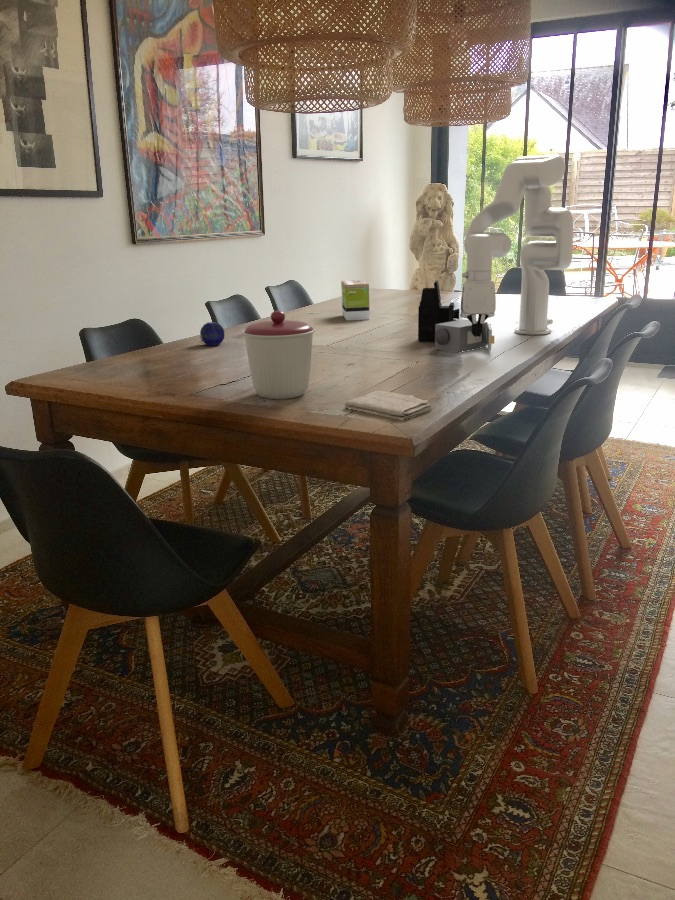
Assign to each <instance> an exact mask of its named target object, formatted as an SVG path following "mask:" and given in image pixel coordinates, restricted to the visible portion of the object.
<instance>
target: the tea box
mask: <svg viewBox="0 0 675 900" xmlns="http://www.w3.org/2000/svg"><path fill="white" fill-rule="evenodd" d="M340 283H341V306H342V307H341V310H342V311H341V313H342V316H343V317H344V319H345V320H346V321H364V320H365V321H366V320H370V316H371V315H370V314H371V313H370V285H369V283H368V282H367V281H365V280H364V279H357V280H356V279H353V280H341V282H340Z"/></svg>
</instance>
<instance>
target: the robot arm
mask: <svg viewBox="0 0 675 900" xmlns="http://www.w3.org/2000/svg"><path fill="white" fill-rule="evenodd" d="M565 172H566V162H565V159H564V158H563V157H562V156H561V155H560V154H545V155H543V154H542V155H526V156H520V157H517V158H515V159H514V160H513V161H512V162H510V163H508V164H507V165H506V167H505V169H504V170H503V173H502V176H501V178H500V181H499V184H498V186H497V190H496V193H495V195H494V198H493V200H492V201H491V202H490V203H489V204H488V205H486V206H485V207H484V208H483V209H482V210H481V211H480V212H478V213H477V214H476V215H475V217H474V218H472V221H470V223H469V224H470V225H469V228H468V230H467V232H466V234H465V235H466V236H465V239H464V243H463V244H464V247H463V248H464V251H465V254H466V270H465V271H464V272H462V273H461V278H464V279H466V280H464V281H463V285H462V290H461V295H460V296H461V297H460V313H459V318H462V319H465V320H469V321H470V322H471V323H472V331H471V332H472V334H473V336H475V337H477V336H478V337H480V336H481V333H482V324H483V323H484V322H486V320H487V319H490V318H492V317H495V312H496V308H497V307H496V306H497V303H496V302H497V300H496V299H497V297H496V286H495V280H492V273H493V272H492V267H493V259H495V258H497V259H498V258H504V257H505V256H507V255H508V254H509V253H510V251H511V248H512V241H511V238H510V236H509V235H508V234H506V233H504V232H492V231H491V232H487V231H486V230H488V228H490V227H491V226H492V225H495V224H496V223H499V222H502V221H504V220H505V219H508V218H510V217H513V216H514V215H515V214H517V213H518V212H519V210H520V206H521V204H522V202H523V199H524V229H525V233H526V234H527V236H529V237H532V238H533V237H534V238H553V239H555V240H554V241H553V240H531V241H528V242H526V243H524V244H523V245H522V246H521V248H520V251H519V252H520V253H519V258H520V268H521V284H520V285H521V289H520V306H519V321H518V322H519V323H518V325H519V326H518V327H515V328H514V333H516V334H519V335H532V336H538V335H539V336H540V335H541V336H542V335H547V334H550V333H551V332H552V329H551V328H549V327H548V325H553V323H554V320H553V319H552V318H549V319H548V309H549V308H548V307H549V295H550V280H549V277H548V275H547V273H546V272H545V270H546V271H547V270H549V271H551V270H552V271H553V270H554V271H564V270H566V269H568V268H569V267H570V266H571V263H572V260H573V245H574V217H573V214H572V212H571V211H570V209H568V208H565V207H552V192H551V188H550V186H553V185H555V184H557V183H558V182H560V181H561V180H562V179H563V178H564V175H565ZM485 231H486V232H485ZM477 315H478V316H477ZM477 317H478V318H477Z"/></svg>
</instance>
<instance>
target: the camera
mask: <svg viewBox="0 0 675 900" xmlns="http://www.w3.org/2000/svg"><path fill="white" fill-rule="evenodd" d="M421 291H422V292H421V298H420V301H419V306H418V310H417V311H418V313H417V314H418V315H417V316H418V317H417V319H418V322H417V324H418V325H417V326H418V327H417V330H418V333H417V340H418V342H420V343H426V342H427V343H432V342H433V343H435V324H440V323H445V322H451V321H456V320H460V308H455V306H456V305H455V303H454V302H450V303H449V305H442V302H441V300H442V297H441V291H440V284H439V281H438V280H435V281H434V282H433V287H423V288H422V290H421Z"/></svg>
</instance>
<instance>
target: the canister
mask: <svg viewBox="0 0 675 900" xmlns="http://www.w3.org/2000/svg"><path fill="white" fill-rule="evenodd" d="M270 319H271V320H266V321H258V322H255V323H252V324H250V325H248V326H247V327H246V328H243V329H242V330H241V335H243V336H244V341H245V346H246V353H247V359H248V365H249V371H250V376H251V381H252V385H253V388H254V391H255V393H256V395H259V397H262V398H264V397H265V398H264V399H269V398H272V400H285V399H286V400H287V398H289V399H294V398H297V397H301V396H303V395H305V393H306V391H307V390H308V387H309V383H310V374H311V362H312V351H313V350H312V348H313V338H314V337H313V336H314V335H313V334H314V333H315V332H316V328H315V327H314V326H311V325H310V323H307V322H304V321H299V320H286V315H285V312H283V311H282V310H273V312H271V314H270Z"/></svg>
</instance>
